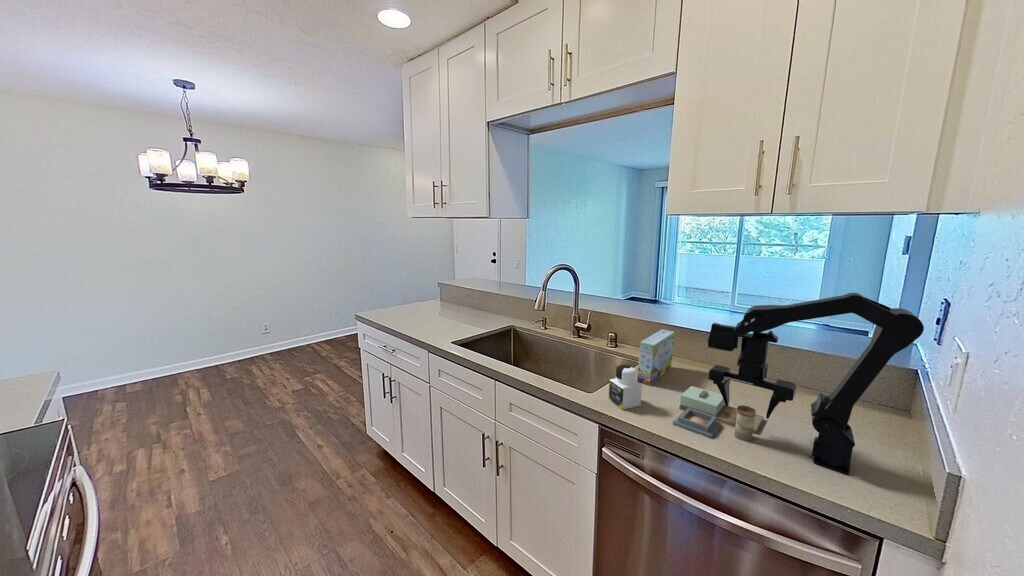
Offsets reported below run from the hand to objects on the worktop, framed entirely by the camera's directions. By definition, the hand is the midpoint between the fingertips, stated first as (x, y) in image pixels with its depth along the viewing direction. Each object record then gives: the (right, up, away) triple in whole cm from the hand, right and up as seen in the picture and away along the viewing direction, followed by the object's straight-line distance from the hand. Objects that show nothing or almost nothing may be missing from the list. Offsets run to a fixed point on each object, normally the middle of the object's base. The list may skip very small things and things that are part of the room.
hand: (746, 412), depth 99 cm
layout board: (0, -5, +13) cm, 14 cm away
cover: (-3, -3, +16) cm, 17 cm away
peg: (0, -7, +1) cm, 7 cm away
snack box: (-8, 0, +42) cm, 42 cm away
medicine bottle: (-26, -4, +20) cm, 33 cm away
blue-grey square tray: (-10, -6, +7) cm, 13 cm away
